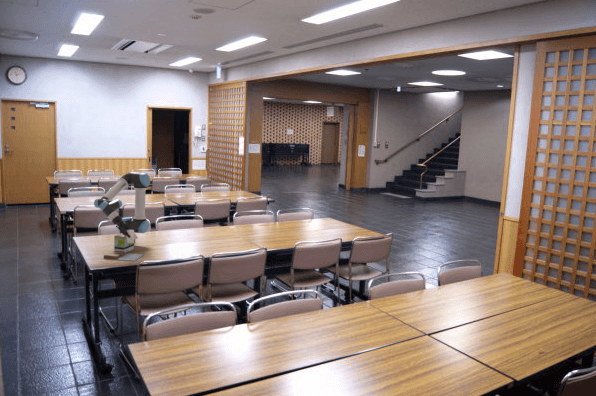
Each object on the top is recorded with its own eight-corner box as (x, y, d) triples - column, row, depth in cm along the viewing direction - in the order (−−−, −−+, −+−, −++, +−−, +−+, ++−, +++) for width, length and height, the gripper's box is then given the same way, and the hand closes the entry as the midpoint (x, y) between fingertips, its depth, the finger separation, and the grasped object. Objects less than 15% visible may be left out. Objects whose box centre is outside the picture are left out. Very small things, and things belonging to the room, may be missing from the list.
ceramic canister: (128, 241, 376) (128, 229, 375) (135, 241, 376) (135, 229, 374) (125, 242, 371) (125, 230, 369) (132, 243, 370) (132, 231, 369)
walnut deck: (112, 253, 384) (112, 250, 384) (124, 254, 383) (124, 251, 383) (103, 258, 370) (103, 255, 370) (116, 259, 369) (116, 256, 369)
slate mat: (127, 254, 385) (127, 253, 385) (143, 255, 384) (143, 254, 384) (117, 260, 367) (117, 259, 367) (134, 261, 366) (134, 260, 366)
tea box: (124, 253, 385) (124, 236, 383) (113, 252, 387) (113, 235, 385) (134, 249, 400) (134, 232, 398) (124, 248, 402) (123, 231, 400)
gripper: (117, 218, 381) (136, 239, 382) (106, 223, 363) (126, 245, 364) (123, 212, 380) (142, 233, 381) (112, 217, 362) (132, 239, 363)
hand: (134, 239), depth 372 cm, fingers closed on ceramic canister, 5 cm apart
